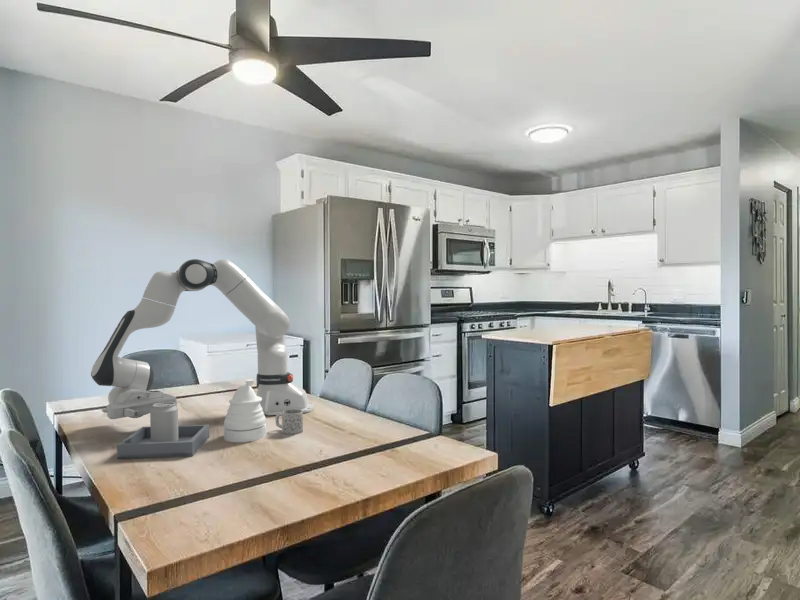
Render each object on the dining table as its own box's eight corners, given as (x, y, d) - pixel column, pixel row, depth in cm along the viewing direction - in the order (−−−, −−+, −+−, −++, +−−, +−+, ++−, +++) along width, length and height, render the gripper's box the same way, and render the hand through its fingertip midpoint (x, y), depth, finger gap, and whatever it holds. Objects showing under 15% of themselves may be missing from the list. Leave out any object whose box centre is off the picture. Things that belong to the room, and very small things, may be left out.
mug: (306, 430, 168) (306, 410, 168) (294, 435, 162) (294, 414, 162) (282, 426, 172) (282, 407, 172) (269, 432, 166) (269, 411, 166)
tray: (209, 437, 161) (209, 424, 160) (192, 456, 143) (192, 442, 143) (143, 439, 158) (142, 426, 158) (117, 459, 141) (117, 444, 140)
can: (166, 448, 146) (165, 407, 146) (144, 446, 148) (144, 405, 148) (184, 441, 153) (183, 401, 153) (163, 439, 155) (162, 400, 155)
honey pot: (274, 432, 166) (273, 377, 165) (250, 444, 154) (249, 384, 153) (240, 428, 170) (240, 375, 169) (215, 440, 158) (214, 382, 157)
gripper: (99, 399, 160) (114, 406, 150) (166, 389, 175) (183, 395, 165) (100, 419, 160) (114, 427, 150) (166, 408, 175) (184, 415, 165)
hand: (151, 410), depth 158 cm, fingers open, 8 cm apart
